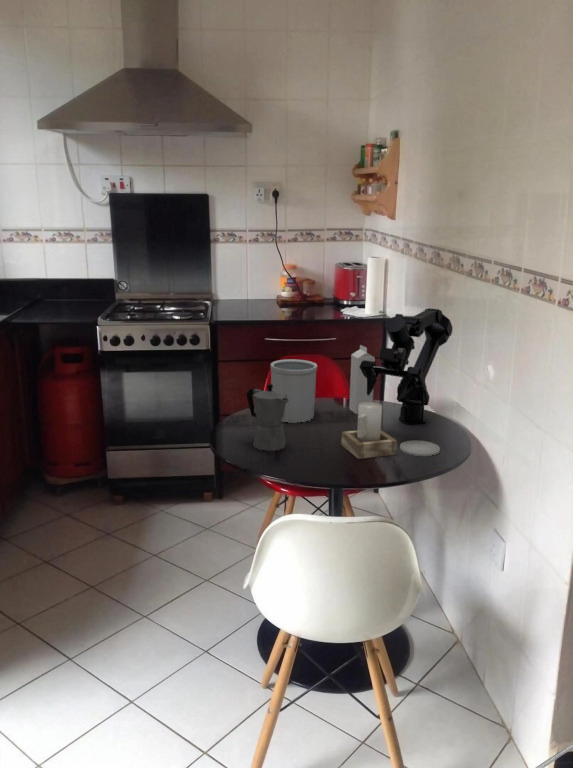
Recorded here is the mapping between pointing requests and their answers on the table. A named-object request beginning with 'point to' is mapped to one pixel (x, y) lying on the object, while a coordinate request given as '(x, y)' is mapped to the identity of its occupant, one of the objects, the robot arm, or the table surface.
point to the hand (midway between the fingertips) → (382, 397)
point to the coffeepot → (268, 417)
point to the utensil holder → (295, 387)
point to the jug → (369, 422)
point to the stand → (368, 445)
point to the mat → (419, 448)
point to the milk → (359, 380)
